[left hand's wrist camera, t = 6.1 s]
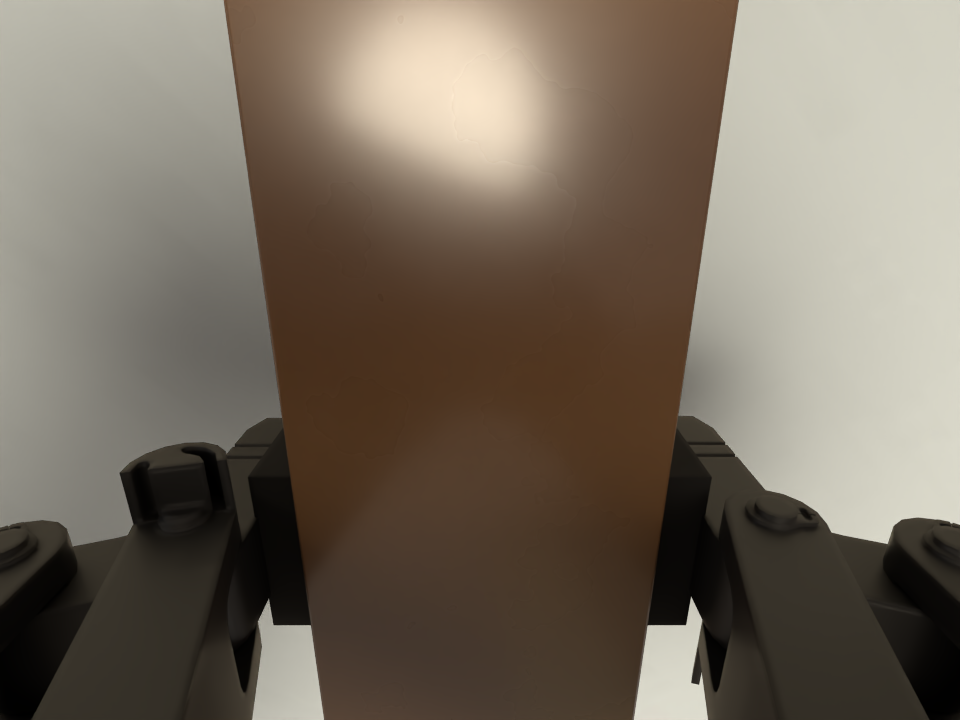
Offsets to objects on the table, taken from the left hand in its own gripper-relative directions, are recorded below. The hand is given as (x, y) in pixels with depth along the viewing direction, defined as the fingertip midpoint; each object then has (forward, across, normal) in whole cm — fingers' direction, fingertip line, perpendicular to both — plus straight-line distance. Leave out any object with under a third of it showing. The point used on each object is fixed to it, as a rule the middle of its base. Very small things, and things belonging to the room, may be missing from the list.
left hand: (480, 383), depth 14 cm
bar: (+1, 0, -18) cm, 18 cm away
